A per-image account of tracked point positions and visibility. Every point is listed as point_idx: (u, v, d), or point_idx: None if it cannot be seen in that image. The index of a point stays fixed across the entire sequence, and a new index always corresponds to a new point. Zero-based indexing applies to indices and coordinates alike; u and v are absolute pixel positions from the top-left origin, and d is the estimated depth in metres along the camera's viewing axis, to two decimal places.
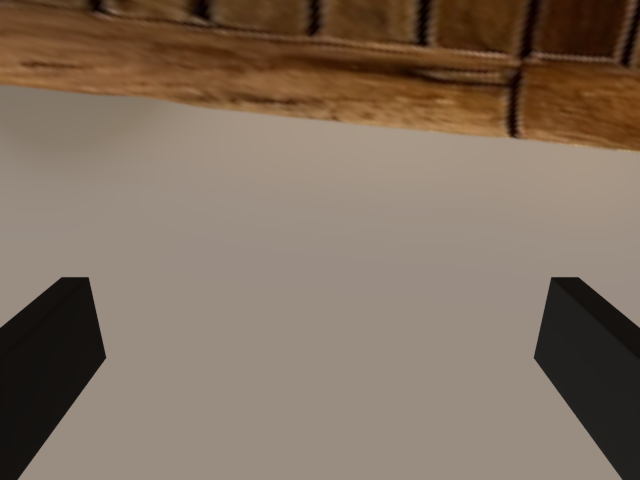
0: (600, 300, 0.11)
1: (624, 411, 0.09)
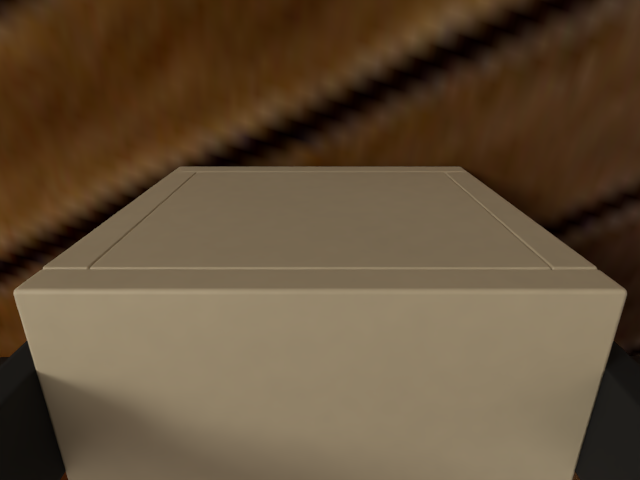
0: None
1: None
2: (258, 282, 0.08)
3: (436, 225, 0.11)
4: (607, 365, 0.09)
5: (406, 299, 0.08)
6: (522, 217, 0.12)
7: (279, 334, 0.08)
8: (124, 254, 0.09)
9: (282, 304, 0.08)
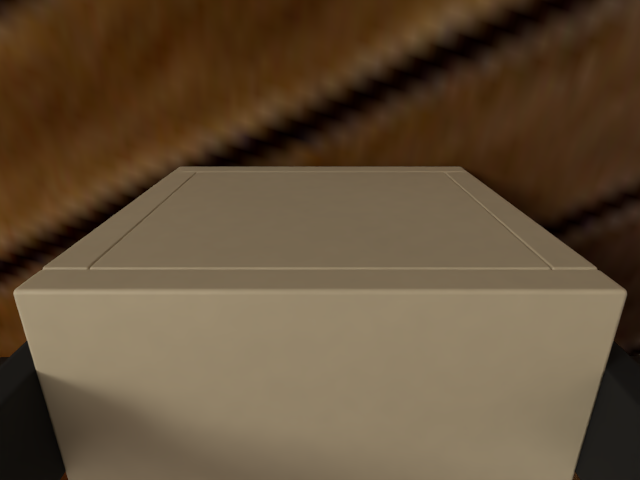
0: None
1: None
2: (258, 283, 0.08)
3: (436, 225, 0.11)
4: (607, 365, 0.09)
5: (406, 299, 0.08)
6: (522, 217, 0.12)
7: (279, 334, 0.08)
8: (124, 254, 0.09)
9: (282, 304, 0.08)
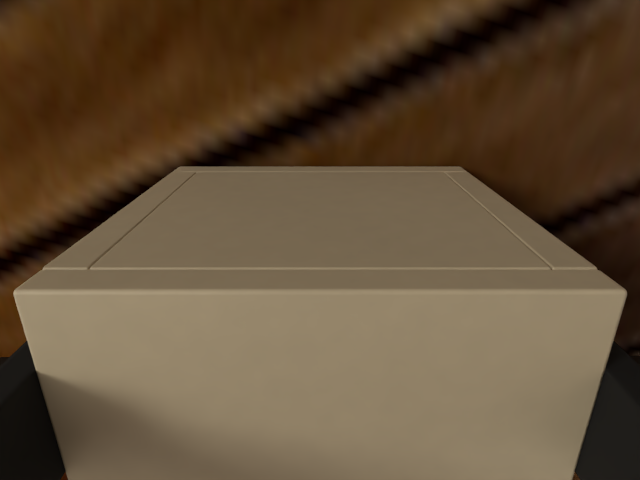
0: None
1: None
2: (258, 283, 0.08)
3: (436, 225, 0.11)
4: (607, 365, 0.09)
5: (406, 299, 0.08)
6: (522, 217, 0.12)
7: (279, 334, 0.08)
8: (124, 254, 0.09)
9: (282, 304, 0.08)
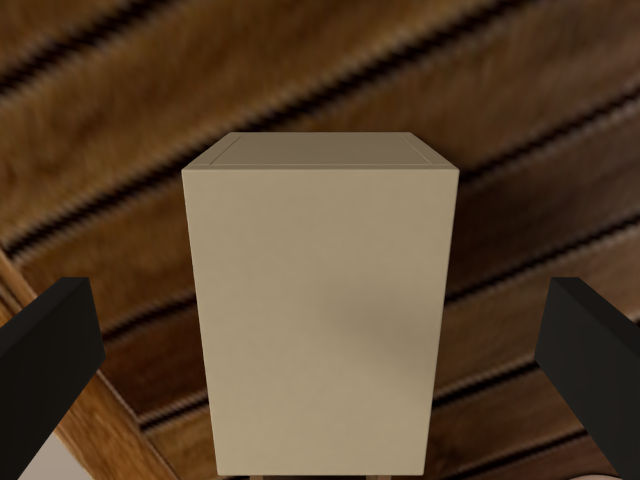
0: (600, 300, 0.11)
1: (624, 411, 0.09)
2: (292, 167, 0.18)
3: (382, 153, 0.21)
4: None
5: (359, 174, 0.18)
6: (430, 150, 0.21)
7: (301, 192, 0.18)
8: (224, 161, 0.19)
9: (303, 176, 0.18)
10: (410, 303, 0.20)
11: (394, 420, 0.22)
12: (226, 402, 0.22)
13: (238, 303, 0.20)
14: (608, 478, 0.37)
